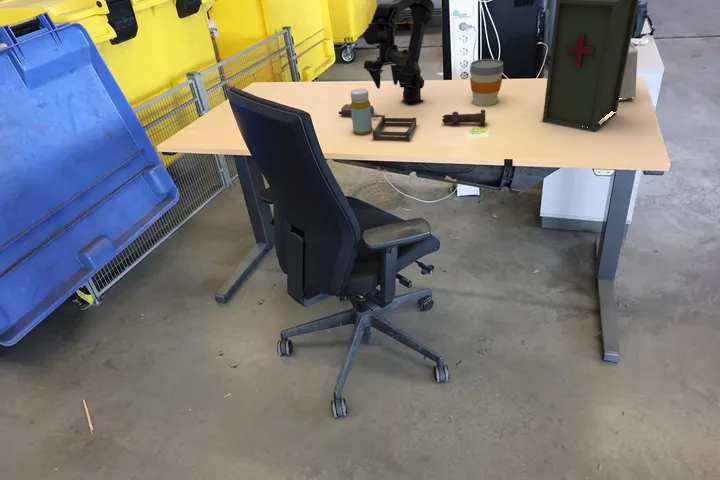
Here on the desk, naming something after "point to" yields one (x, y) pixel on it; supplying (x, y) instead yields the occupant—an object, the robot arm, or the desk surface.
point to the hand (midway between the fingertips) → (387, 86)
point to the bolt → (465, 118)
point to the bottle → (361, 111)
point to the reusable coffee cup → (486, 81)
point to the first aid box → (587, 61)
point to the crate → (380, 134)
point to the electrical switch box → (630, 74)
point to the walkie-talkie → (347, 112)
